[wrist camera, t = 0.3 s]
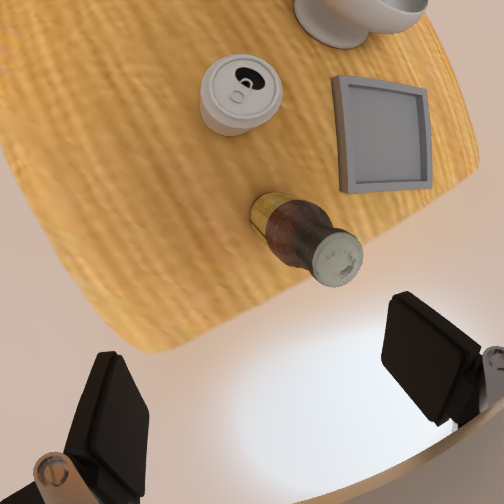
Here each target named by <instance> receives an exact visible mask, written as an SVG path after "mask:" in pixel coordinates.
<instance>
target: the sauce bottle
mask: <svg viewBox="0 0 504 504" xmlns="http://www.w3.org/2000/svg"><path fill="white" fill-rule="evenodd" d="M250 222H251V225H252V227H253V229H254V231H255V232H256V234H257V235H258V236H259V237H260V238H261V240H262V241H263V242H264V243H265V244H266V245H267V246H268V248H269V249H270V250H271V251H272V252H273V253H274V254H275V255H276V256H277V257H278V258H279V259H280V260H281V261H282V262H284V263H285V264H287V265H288V266H293V267H296V268H303V269H306V270H309V271H310V273H311V275H312V276H313V277H314V278H315V279H316V280H317V281H318V282H320V283H321V284H323V285H325V286H328V287H339V286H343V285H345V284H347V283H348V282H350V281H351V280H352V279H353V278H354V277H355V275H356V274H357V272H358V271H359V269H360V267H361V265H362V260H363V250H362V246H361V244H360V242H359V241H358V239H357V238H356V237H355V236H354V235H352V234H350V233H349V232H347V231H345V230H343V229H339V228H333V226H332V223H331V220H330V218H329V217H328V215H327V214H326V212H325V211H324V210H323V209H321V208H320V207H319V206H317V205H315V204H313V203H311V202H308V201H305V200H302V199H298V198H296V197H293V196H290V195H287V194H284V193H280V192H271V193H267V194H265V195H263V196H261V197H260V198H259V199H257V200H256V201H255V202H254V203H253V206H252V208H251V214H250Z"/></svg>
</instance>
